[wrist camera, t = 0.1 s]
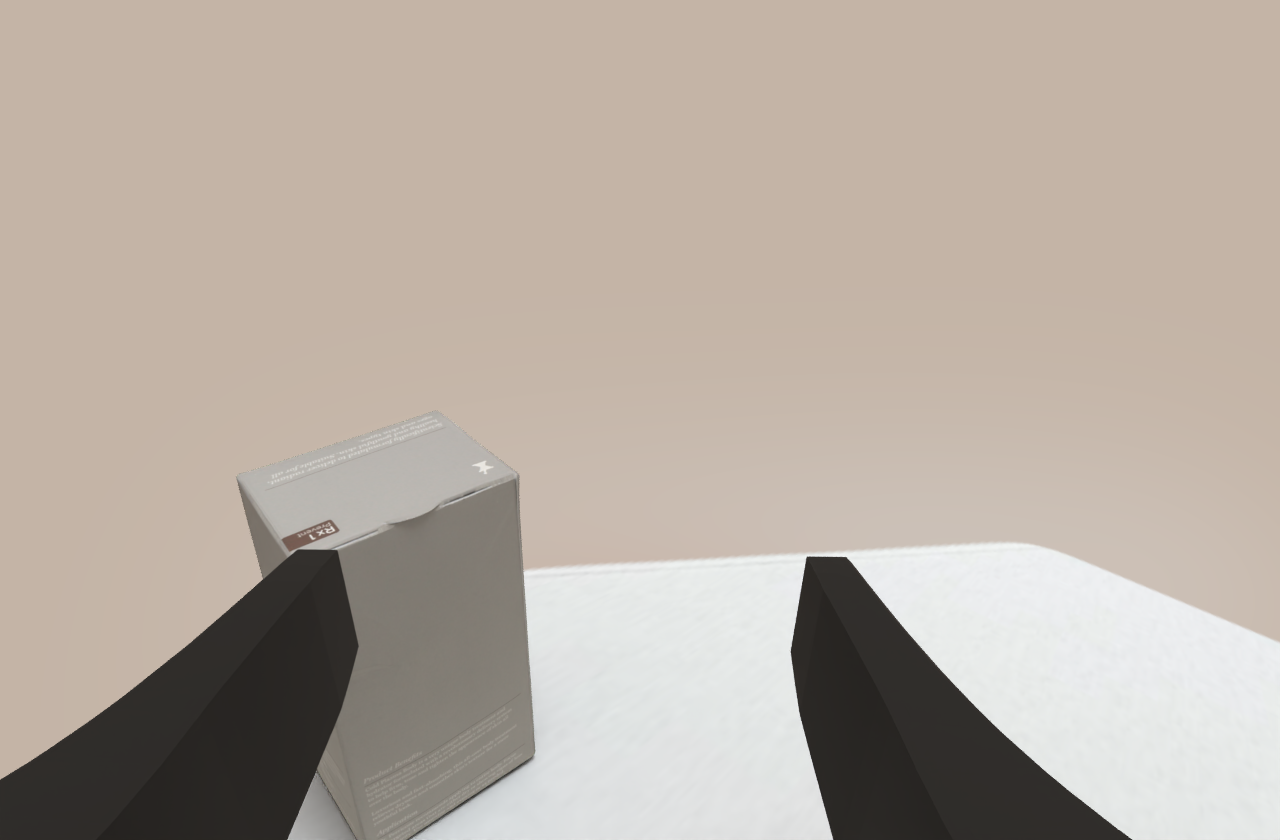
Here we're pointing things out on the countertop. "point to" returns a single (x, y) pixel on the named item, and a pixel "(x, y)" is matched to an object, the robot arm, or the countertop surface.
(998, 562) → the countertop surface
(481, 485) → the skincare box
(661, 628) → the countertop surface
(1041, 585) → the countertop surface
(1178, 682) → the countertop surface
